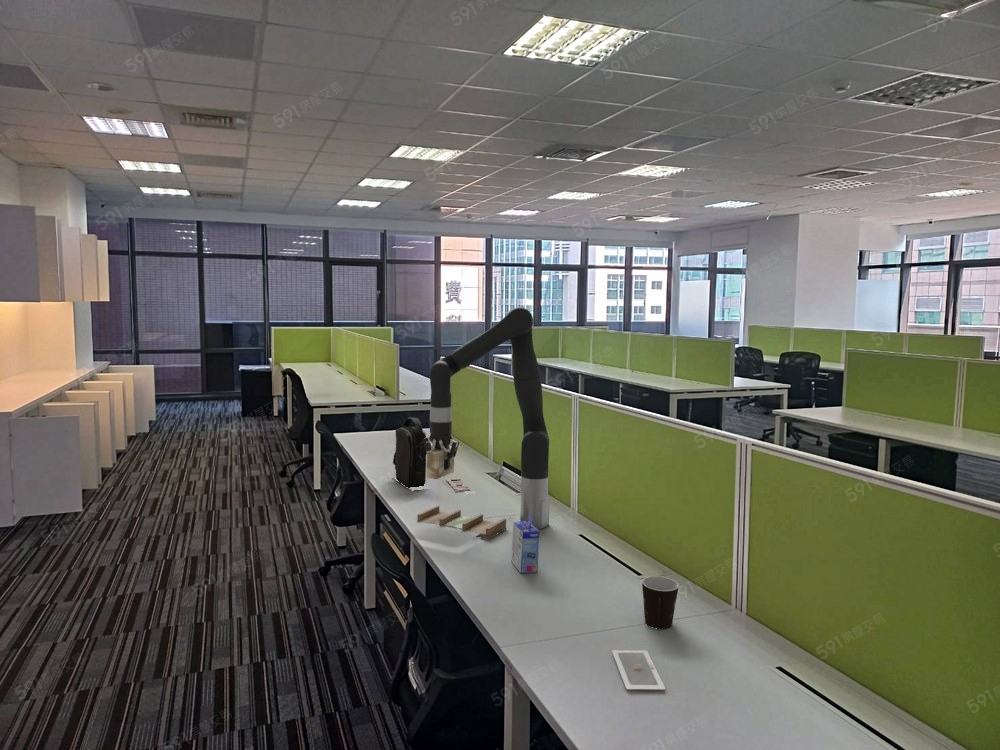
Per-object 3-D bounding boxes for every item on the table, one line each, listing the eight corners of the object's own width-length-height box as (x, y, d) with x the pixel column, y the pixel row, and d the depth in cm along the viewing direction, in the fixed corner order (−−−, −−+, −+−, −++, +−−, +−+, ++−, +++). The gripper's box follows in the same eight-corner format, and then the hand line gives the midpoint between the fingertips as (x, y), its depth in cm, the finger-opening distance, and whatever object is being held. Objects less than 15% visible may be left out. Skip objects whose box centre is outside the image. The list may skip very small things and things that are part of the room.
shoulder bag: (432, 488, 276) (433, 421, 273) (411, 491, 271) (412, 422, 268) (410, 476, 295) (411, 412, 292) (391, 478, 291) (391, 414, 288)
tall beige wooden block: (454, 472, 236) (454, 447, 235) (436, 479, 227) (436, 453, 226) (444, 470, 238) (444, 445, 237) (426, 477, 229) (426, 451, 228)
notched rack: (505, 529, 229) (506, 519, 228) (488, 539, 218) (488, 529, 218) (436, 515, 242) (437, 505, 242) (417, 524, 232) (417, 514, 231)
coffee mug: (650, 611, 170) (652, 573, 168) (682, 622, 164) (684, 582, 163) (627, 628, 161) (629, 587, 159) (661, 640, 155) (663, 598, 154)
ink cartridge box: (539, 572, 193) (540, 523, 191) (520, 574, 191) (521, 524, 190) (528, 559, 202) (529, 512, 201) (510, 561, 201) (511, 513, 199)
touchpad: (626, 694, 134) (626, 683, 134) (611, 655, 149) (611, 645, 149) (665, 694, 134) (666, 684, 134) (646, 655, 149) (647, 645, 149)
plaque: (439, 477, 292) (462, 476, 295) (439, 480, 292) (462, 478, 295) (457, 499, 260) (482, 497, 262) (457, 502, 260) (482, 500, 263)
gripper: (464, 420, 230) (463, 469, 232) (429, 416, 237) (429, 463, 239) (452, 423, 224) (452, 473, 226) (417, 419, 231) (417, 468, 232)
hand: (440, 468), depth 232 cm, fingers closed on tall beige wooden block, 4 cm apart
